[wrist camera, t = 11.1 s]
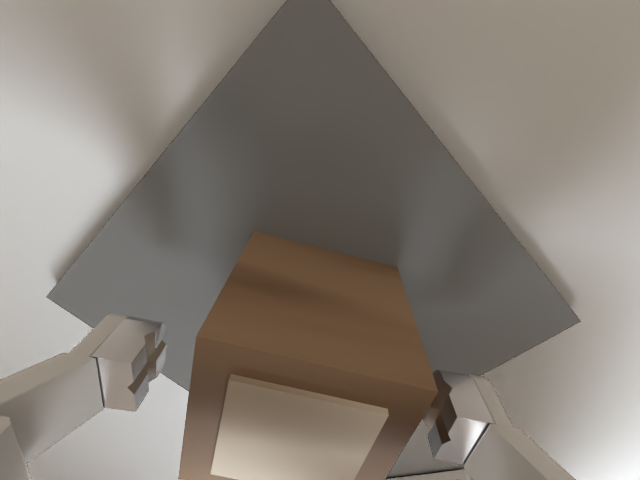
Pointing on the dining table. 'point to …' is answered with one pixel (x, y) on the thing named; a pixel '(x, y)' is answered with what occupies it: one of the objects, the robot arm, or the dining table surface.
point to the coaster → (315, 205)
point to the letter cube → (305, 369)
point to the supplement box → (438, 476)
